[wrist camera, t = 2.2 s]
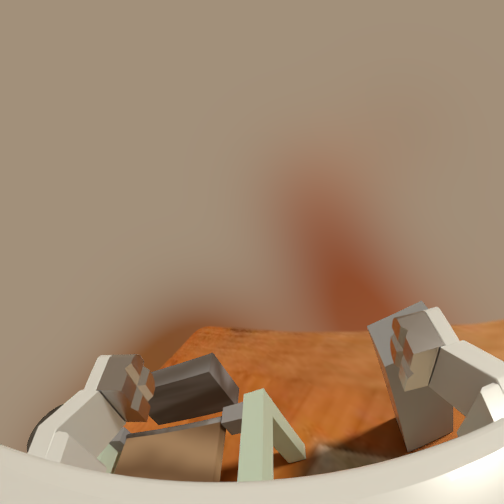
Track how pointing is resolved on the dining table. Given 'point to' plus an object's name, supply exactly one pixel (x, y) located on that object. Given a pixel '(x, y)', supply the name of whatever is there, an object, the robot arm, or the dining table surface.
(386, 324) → the tall grey upright prism
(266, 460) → the frame
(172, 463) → the trapdoor
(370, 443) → the dining table surface
